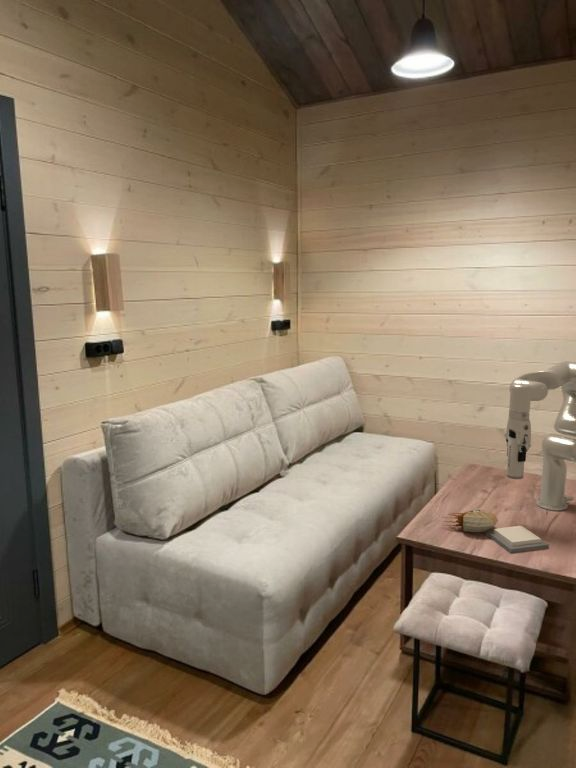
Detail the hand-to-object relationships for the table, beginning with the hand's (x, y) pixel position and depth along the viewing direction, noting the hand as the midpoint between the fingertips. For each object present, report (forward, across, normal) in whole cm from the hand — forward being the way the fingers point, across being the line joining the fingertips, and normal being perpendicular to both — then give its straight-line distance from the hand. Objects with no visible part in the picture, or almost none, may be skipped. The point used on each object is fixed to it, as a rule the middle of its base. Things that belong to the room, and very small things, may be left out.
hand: (516, 458), depth 233 cm
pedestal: (+27, -15, +8) cm, 32 cm away
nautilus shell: (+28, -1, +20) cm, 34 cm away
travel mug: (+8, 0, 0) cm, 8 cm away
